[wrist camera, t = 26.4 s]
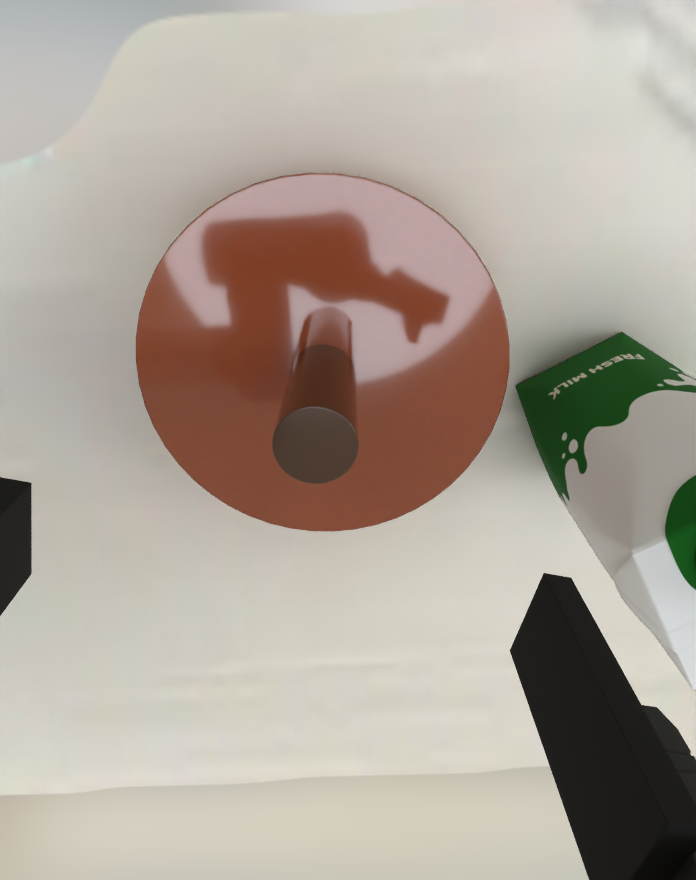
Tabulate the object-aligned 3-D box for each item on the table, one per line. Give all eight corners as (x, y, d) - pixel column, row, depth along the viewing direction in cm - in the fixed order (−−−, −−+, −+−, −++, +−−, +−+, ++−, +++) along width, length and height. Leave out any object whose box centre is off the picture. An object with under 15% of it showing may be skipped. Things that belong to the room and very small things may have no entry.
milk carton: (631, 310, 36) (927, 468, 18) (676, 432, 39) (963, 669, 21) (494, 380, 37) (634, 588, 19) (549, 490, 41) (711, 756, 23)
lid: (131, 487, 34) (59, 596, 25) (158, 127, 26) (70, 113, 18) (445, 545, 35) (476, 665, 27) (557, 223, 28) (648, 251, 19)
